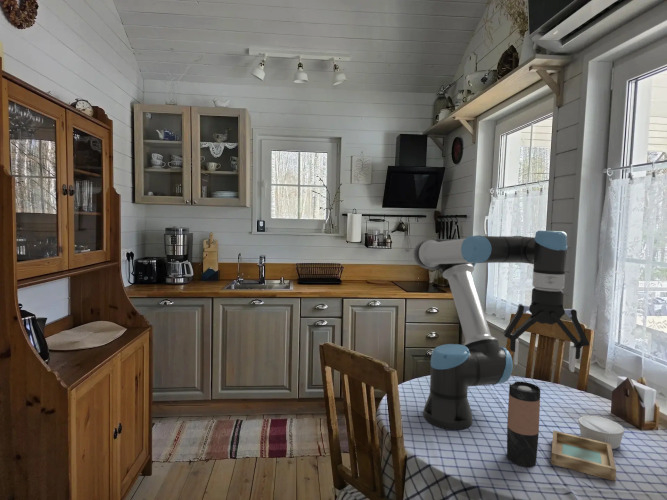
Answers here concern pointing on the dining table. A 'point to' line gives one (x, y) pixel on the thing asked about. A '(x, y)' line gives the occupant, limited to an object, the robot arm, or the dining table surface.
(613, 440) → the ramekin
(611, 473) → the tray
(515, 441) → the travel mug
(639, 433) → the dining table surface
